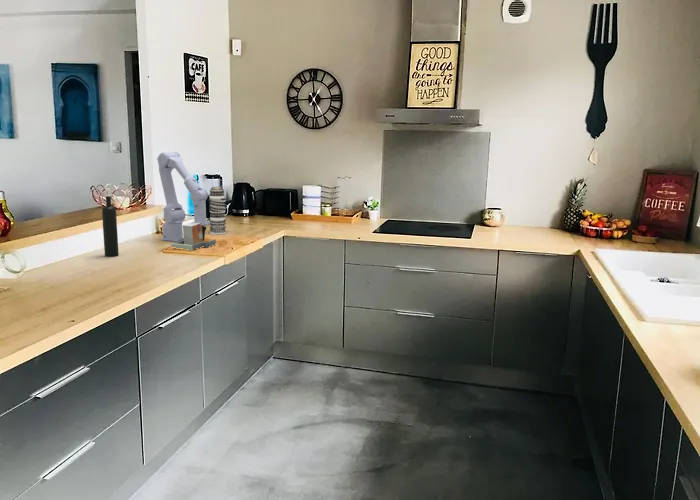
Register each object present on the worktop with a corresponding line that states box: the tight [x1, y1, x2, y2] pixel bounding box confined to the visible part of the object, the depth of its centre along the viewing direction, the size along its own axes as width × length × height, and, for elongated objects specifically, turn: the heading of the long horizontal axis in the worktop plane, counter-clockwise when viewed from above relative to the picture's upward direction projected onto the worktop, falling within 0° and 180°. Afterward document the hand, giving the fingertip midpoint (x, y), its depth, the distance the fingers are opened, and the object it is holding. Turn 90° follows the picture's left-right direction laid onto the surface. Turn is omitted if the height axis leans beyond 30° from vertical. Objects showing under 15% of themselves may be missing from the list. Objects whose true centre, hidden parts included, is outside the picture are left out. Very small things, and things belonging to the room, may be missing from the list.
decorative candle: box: [208, 186, 227, 235], centre depth 320 cm, size 9×9×25 cm
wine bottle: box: [101, 187, 120, 258], centre depth 261 cm, size 6×6×30 cm
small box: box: [182, 221, 204, 245], centre depth 288 cm, size 8×6×10 cm
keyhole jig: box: [170, 237, 217, 251], centre depth 287 cm, size 16×17×2 cm
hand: (201, 241), depth 294 cm, fingers closed, pressing on small box
